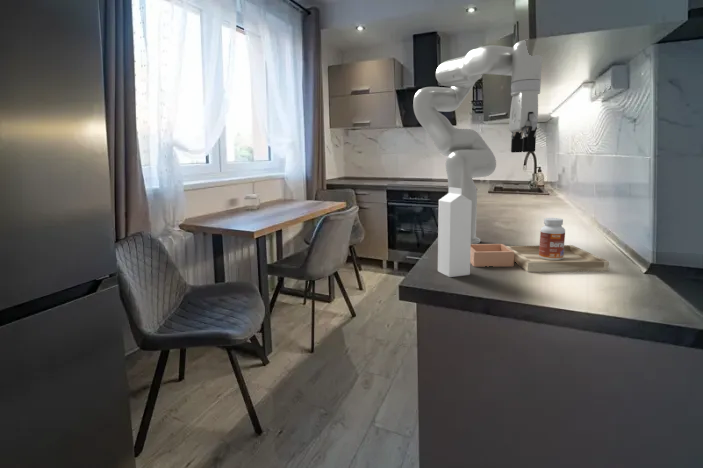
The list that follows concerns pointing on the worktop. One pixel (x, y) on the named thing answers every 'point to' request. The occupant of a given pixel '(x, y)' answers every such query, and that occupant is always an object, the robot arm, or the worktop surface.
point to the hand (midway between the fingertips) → (522, 152)
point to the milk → (454, 233)
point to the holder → (491, 255)
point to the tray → (571, 260)
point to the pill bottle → (552, 239)
